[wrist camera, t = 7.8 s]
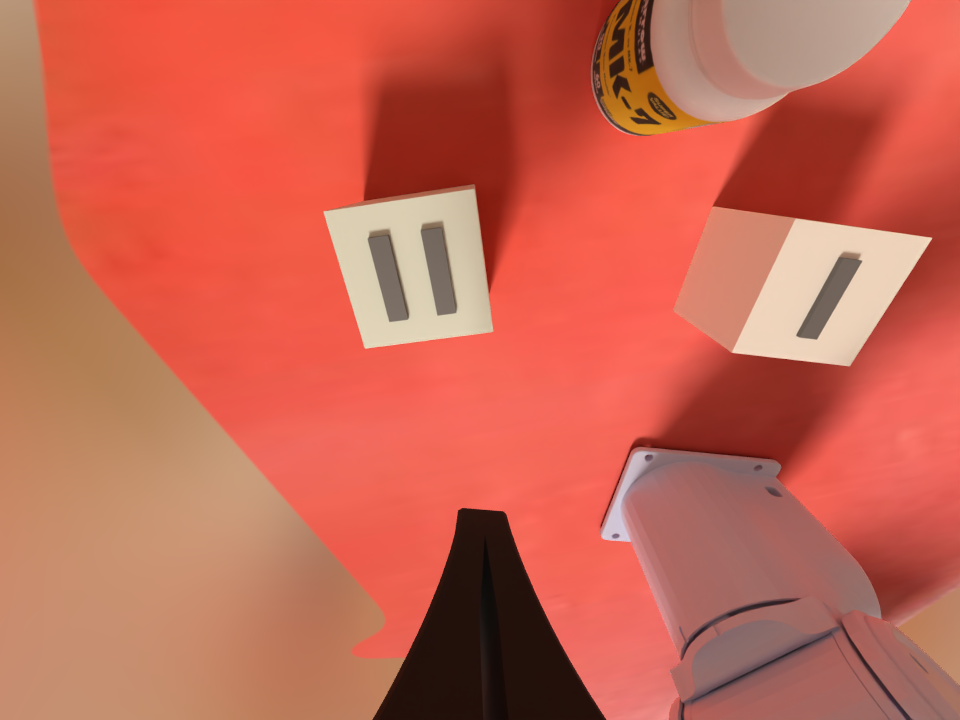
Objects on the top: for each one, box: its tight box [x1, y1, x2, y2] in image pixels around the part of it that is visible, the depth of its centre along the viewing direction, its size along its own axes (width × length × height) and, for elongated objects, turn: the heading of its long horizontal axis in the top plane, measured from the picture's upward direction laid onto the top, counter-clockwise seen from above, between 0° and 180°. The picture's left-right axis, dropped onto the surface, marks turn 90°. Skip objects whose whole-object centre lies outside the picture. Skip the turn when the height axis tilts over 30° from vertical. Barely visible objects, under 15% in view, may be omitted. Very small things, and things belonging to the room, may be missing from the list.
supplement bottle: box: [591, 0, 911, 136], centre depth 11 cm, size 5×5×8 cm
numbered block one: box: [673, 206, 932, 366], centre depth 16 cm, size 5×5×5 cm
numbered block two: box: [324, 184, 493, 349], centre depth 15 cm, size 5×5×5 cm
